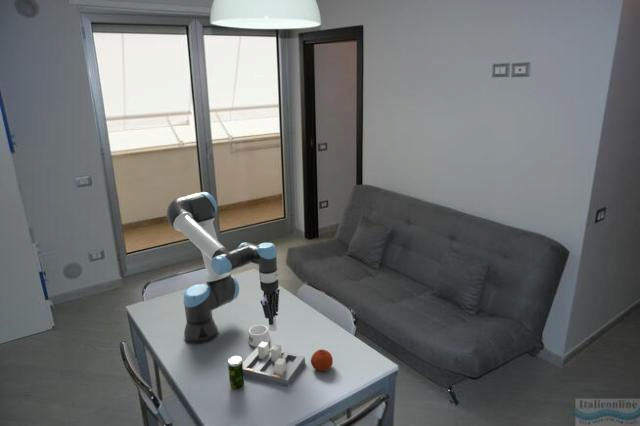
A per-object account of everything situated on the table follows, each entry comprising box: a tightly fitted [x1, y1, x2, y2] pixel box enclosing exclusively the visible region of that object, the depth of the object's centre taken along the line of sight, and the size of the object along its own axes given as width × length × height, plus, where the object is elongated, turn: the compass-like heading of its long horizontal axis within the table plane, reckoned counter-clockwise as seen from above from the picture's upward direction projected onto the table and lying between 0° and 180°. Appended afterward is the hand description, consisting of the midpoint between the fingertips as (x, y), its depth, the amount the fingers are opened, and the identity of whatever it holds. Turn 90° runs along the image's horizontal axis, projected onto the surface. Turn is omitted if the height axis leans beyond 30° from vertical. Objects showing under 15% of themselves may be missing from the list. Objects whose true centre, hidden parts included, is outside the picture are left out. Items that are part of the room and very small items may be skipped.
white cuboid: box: [270, 343, 283, 362], centre depth 187 cm, size 3×4×6 cm
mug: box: [247, 324, 271, 348], centre depth 204 cm, size 12×10×6 cm
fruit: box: [310, 348, 334, 372], centre depth 182 cm, size 9×9×8 cm
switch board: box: [242, 347, 306, 387], centre depth 184 cm, size 22×16×3 cm
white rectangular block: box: [258, 341, 270, 360], centre depth 189 cm, size 3×4×6 cm
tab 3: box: [275, 358, 286, 377], centre depth 177 cm, size 3×4×6 cm
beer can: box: [227, 355, 245, 392], centre depth 173 cm, size 5×5×12 cm
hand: (273, 329), depth 195 cm, fingers closed
